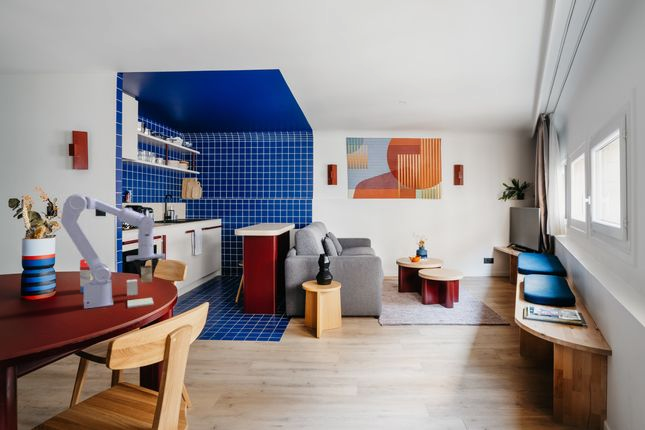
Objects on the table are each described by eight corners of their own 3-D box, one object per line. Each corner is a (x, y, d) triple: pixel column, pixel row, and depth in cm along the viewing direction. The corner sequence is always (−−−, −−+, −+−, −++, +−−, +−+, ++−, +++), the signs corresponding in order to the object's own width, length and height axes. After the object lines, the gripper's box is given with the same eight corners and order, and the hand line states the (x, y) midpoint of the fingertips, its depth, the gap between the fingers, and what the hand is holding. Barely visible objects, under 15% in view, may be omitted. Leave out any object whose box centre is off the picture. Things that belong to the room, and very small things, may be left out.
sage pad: (127, 307, 138) (127, 306, 138) (127, 302, 146) (127, 300, 146) (153, 304, 142) (153, 303, 142) (152, 299, 150) (152, 297, 150)
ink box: (90, 292, 160) (90, 260, 159) (80, 292, 160) (79, 260, 160) (103, 288, 169) (102, 257, 168) (92, 288, 169) (91, 256, 168)
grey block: (127, 295, 155) (126, 282, 155) (127, 293, 159) (126, 280, 159) (137, 294, 157) (137, 281, 157) (137, 292, 161) (137, 279, 161)
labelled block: (141, 282, 149) (141, 267, 149) (140, 280, 152) (140, 266, 152) (152, 281, 151) (151, 266, 151) (151, 279, 154) (151, 265, 154)
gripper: (163, 242, 158) (164, 273, 159) (126, 244, 151) (126, 276, 151) (165, 244, 152) (166, 276, 152) (126, 246, 145) (126, 280, 145)
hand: (146, 276), depth 152 cm, fingers closed on labelled block, 4 cm apart
